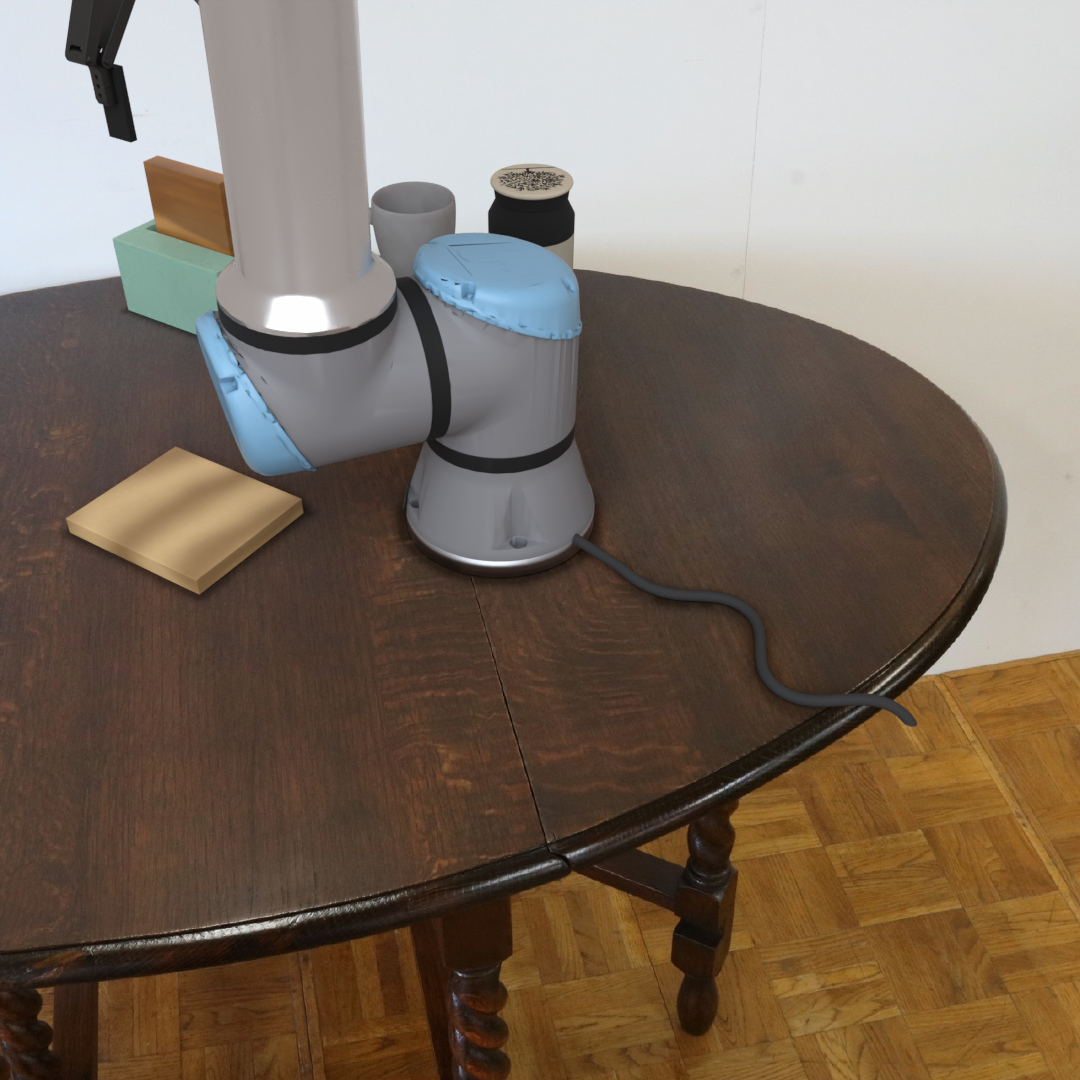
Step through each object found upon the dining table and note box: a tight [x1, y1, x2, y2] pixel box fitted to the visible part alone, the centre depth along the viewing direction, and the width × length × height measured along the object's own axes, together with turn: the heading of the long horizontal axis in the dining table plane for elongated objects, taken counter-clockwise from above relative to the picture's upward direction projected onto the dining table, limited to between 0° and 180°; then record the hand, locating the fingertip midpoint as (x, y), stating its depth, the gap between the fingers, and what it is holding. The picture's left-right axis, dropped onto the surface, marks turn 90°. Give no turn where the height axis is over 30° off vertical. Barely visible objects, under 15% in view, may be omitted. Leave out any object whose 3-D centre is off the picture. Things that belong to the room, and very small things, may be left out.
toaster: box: [112, 218, 235, 336], centre depth 122 cm, size 10×16×8 cm, turn 59°
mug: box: [369, 181, 457, 278], centre depth 127 cm, size 12×9×10 cm
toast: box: [142, 155, 235, 257], centre depth 119 cm, size 2×10×12 cm, turn 59°
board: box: [65, 446, 304, 596], centre depth 95 cm, size 14×12×2 cm
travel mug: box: [487, 163, 576, 272], centre depth 112 cm, size 8×8×18 cm
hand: (177, 116), depth 112 cm, fingers open, 13 cm apart
